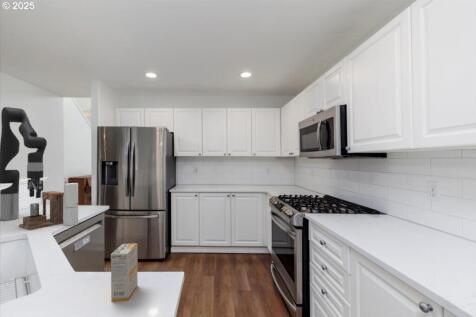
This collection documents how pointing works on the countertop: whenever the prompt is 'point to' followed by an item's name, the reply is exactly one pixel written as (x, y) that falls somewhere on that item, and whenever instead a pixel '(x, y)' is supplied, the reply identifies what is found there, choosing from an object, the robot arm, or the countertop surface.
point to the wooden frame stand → (42, 220)
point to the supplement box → (123, 272)
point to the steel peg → (34, 210)
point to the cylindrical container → (70, 204)
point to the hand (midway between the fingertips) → (35, 197)
